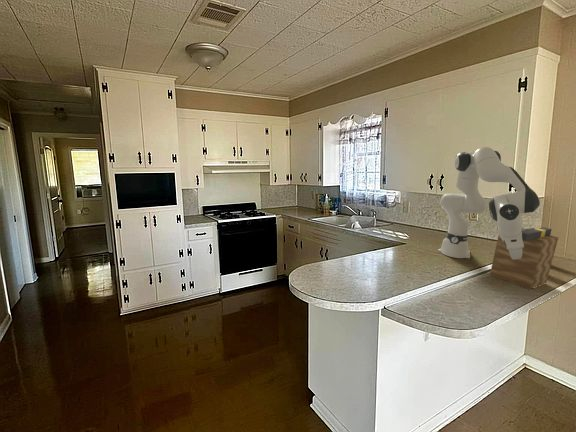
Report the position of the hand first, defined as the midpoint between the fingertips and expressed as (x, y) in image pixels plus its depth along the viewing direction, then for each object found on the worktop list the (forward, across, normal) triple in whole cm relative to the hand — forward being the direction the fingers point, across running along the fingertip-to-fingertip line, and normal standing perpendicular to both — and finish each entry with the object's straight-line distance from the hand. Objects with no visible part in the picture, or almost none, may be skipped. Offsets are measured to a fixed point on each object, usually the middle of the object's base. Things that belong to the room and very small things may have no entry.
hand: (510, 246), depth 155 cm
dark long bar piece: (+9, -8, +12) cm, 18 cm away
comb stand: (+32, +2, +2) cm, 32 cm away
